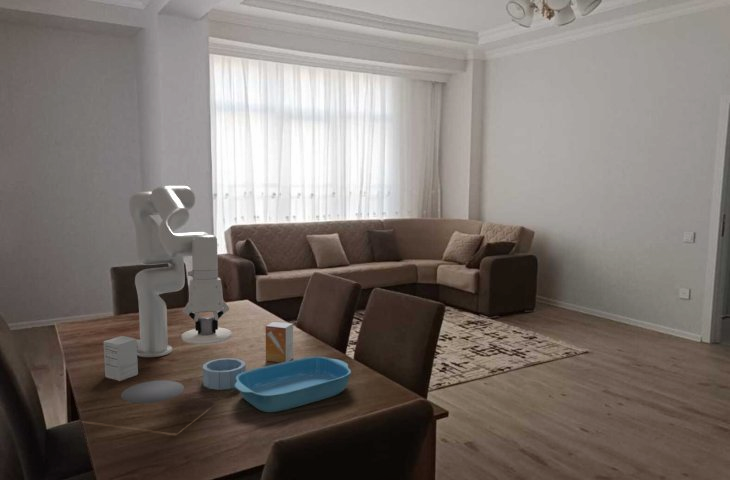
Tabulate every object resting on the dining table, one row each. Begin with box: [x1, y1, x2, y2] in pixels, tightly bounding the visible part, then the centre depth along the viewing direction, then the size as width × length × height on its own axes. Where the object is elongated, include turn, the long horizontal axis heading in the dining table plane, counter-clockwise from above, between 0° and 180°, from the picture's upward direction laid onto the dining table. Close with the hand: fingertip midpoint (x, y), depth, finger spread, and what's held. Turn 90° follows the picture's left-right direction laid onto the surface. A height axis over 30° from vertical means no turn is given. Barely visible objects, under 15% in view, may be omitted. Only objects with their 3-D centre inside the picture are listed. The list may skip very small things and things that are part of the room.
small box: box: [265, 321, 294, 363], centre depth 202 cm, size 8×6×13 cm
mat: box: [120, 380, 185, 404], centre depth 171 cm, size 18×18×1 cm
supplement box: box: [103, 335, 139, 382], centre depth 183 cm, size 7×7×13 cm
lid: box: [181, 316, 232, 345], centre depth 175 cm, size 15×15×6 cm
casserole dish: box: [235, 356, 352, 413], centre depth 170 cm, size 37×22×7 cm, turn 127°
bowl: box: [202, 357, 246, 391], centre depth 179 cm, size 13×13×6 cm
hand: (206, 331), depth 175 cm, fingers closed on lid, 4 cm apart
